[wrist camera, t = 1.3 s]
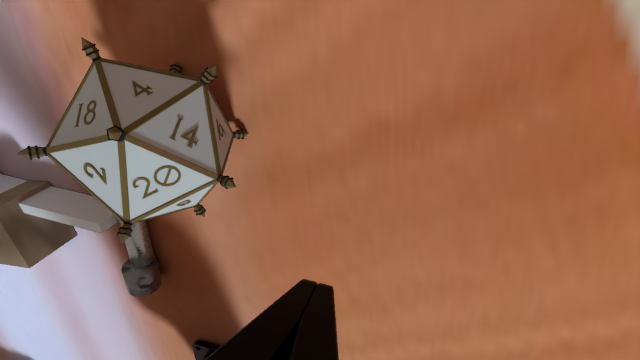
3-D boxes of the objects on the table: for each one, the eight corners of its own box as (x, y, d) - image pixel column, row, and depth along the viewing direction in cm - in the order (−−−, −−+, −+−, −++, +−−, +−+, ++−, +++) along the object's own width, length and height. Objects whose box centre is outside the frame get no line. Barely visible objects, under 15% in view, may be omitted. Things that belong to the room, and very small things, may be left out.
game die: (238, 70, 22) (224, -5, 12) (259, 202, 22) (262, 232, 13) (84, 85, 20) (-73, 13, 11) (111, 226, 21) (-14, 281, 11)
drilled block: (77, 235, 29) (28, 269, 25) (34, 230, 30) (-18, 262, 27) (48, 181, 26) (-10, 210, 23) (4, 179, 28) (-57, 206, 24)
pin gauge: (168, 277, 28) (147, 300, 26) (142, 270, 28) (120, 291, 26) (148, 192, 24) (122, 211, 22) (119, 185, 24) (91, 203, 22)
